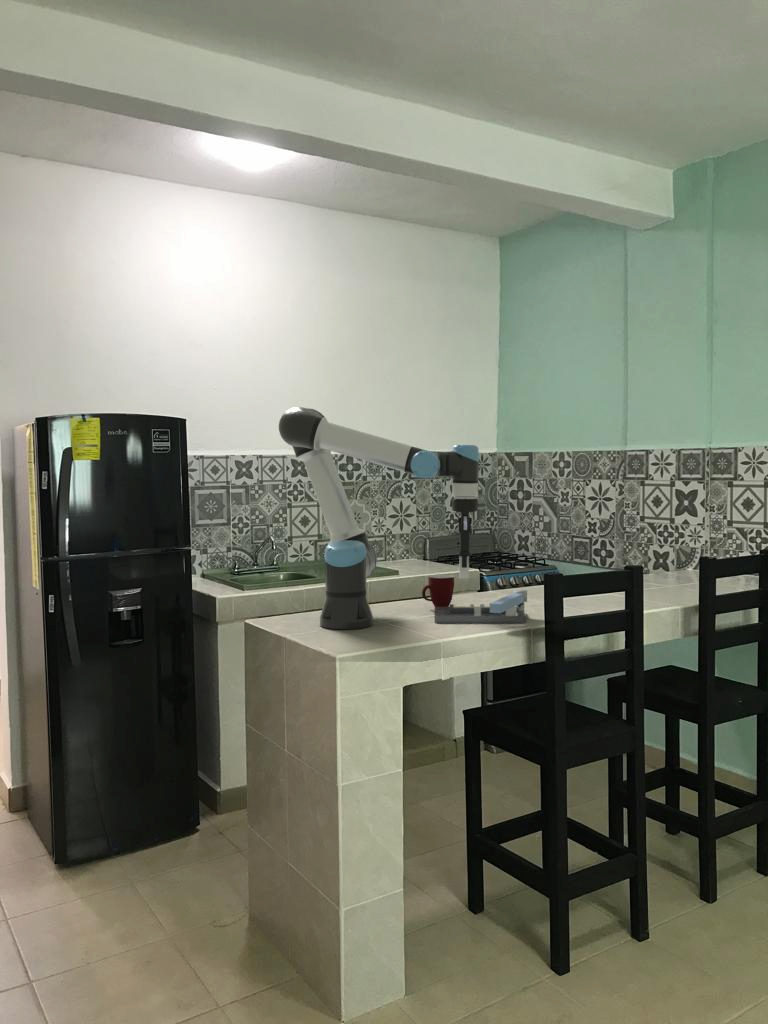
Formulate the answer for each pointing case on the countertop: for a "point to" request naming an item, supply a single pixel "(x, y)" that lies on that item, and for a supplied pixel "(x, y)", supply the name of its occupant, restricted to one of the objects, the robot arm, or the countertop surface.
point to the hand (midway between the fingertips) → (463, 578)
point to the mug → (440, 590)
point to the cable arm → (508, 601)
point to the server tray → (478, 614)
